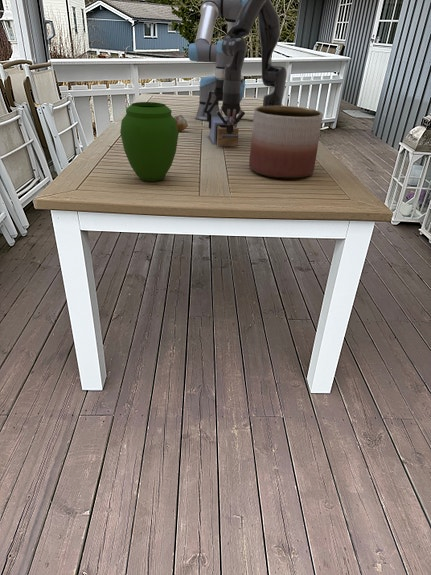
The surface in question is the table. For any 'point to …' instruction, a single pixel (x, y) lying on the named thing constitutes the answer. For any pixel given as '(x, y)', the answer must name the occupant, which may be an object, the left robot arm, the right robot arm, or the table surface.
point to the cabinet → (214, 123)
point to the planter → (284, 141)
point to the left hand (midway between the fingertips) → (221, 128)
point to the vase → (149, 139)
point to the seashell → (181, 122)
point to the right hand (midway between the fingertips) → (229, 133)
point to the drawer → (226, 136)
